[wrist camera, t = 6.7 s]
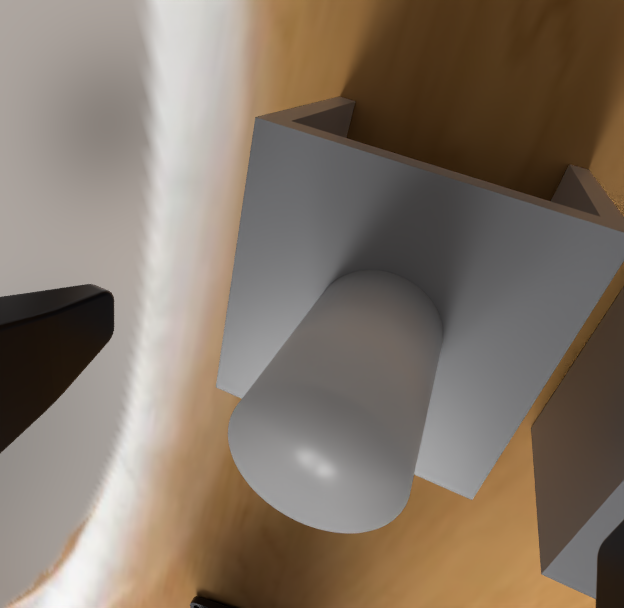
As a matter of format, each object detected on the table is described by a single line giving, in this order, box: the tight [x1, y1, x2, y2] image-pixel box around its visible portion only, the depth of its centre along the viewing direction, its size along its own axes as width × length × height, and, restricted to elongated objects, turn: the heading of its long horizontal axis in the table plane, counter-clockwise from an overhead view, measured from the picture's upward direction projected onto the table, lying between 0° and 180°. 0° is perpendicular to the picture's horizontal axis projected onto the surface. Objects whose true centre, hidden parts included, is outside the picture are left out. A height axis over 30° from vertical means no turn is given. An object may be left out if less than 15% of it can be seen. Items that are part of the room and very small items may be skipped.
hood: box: [216, 97, 624, 533], centre depth 11 cm, size 7×7×10 cm
